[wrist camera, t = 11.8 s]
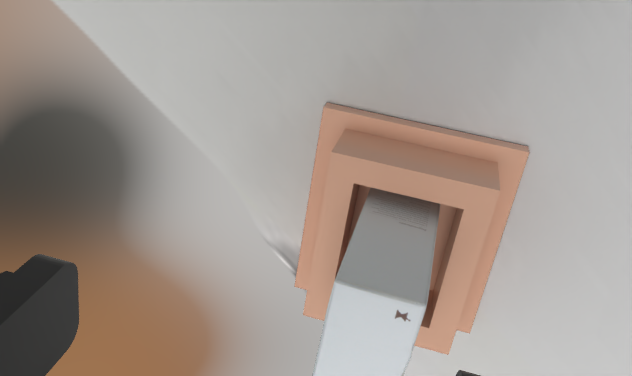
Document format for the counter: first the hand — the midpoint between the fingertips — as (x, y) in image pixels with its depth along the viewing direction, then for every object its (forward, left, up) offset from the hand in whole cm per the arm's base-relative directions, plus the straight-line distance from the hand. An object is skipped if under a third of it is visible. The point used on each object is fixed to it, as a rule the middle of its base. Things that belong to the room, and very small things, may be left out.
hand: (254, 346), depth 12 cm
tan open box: (+2, -9, -25) cm, 27 cm away
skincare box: (+2, -9, -25) cm, 26 cm away
